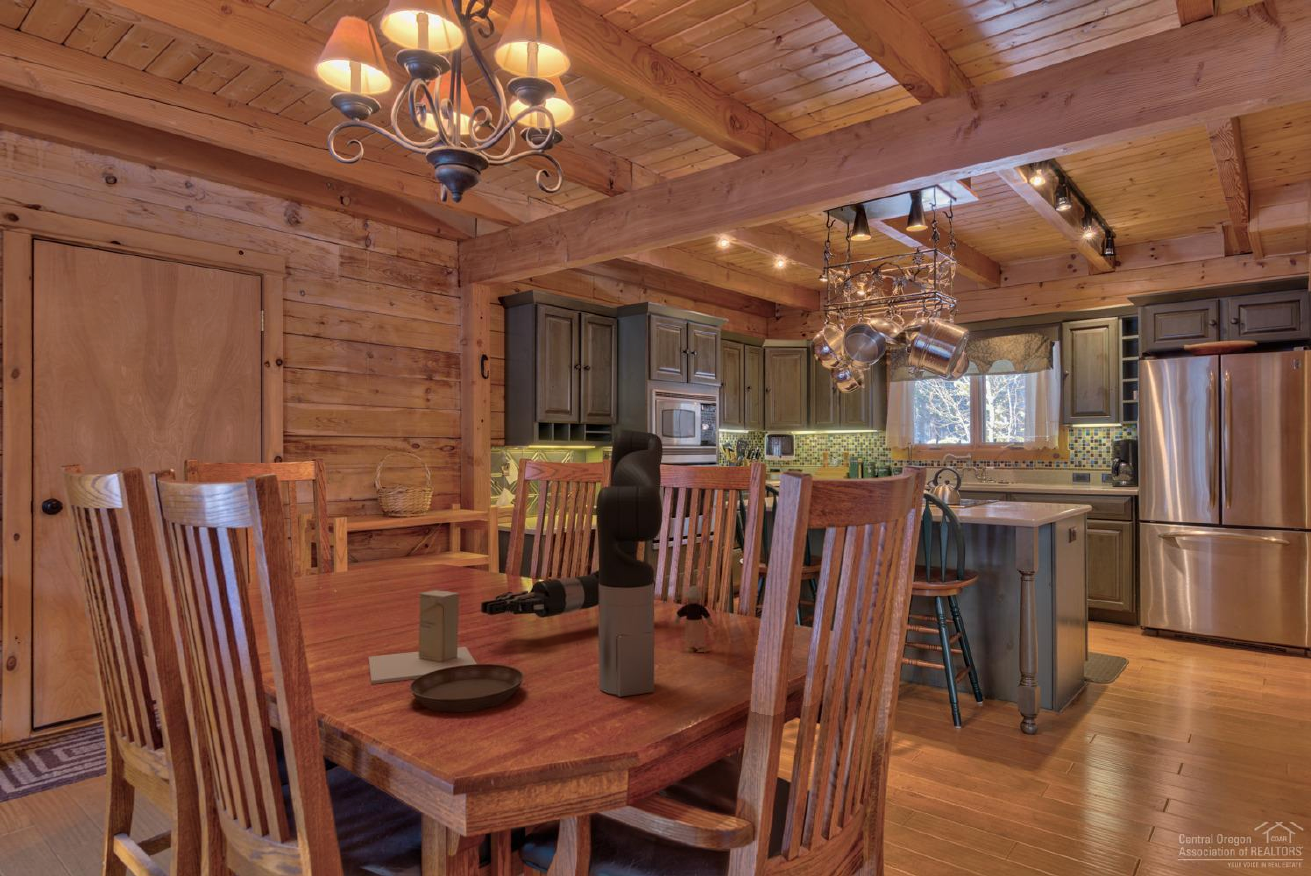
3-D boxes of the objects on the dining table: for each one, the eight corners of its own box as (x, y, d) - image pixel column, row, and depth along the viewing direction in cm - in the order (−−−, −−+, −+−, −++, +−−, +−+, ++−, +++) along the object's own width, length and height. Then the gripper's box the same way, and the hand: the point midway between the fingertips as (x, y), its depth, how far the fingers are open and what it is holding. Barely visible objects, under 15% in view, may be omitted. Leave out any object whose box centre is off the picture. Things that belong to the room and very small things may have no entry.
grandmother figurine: (713, 648, 148) (713, 584, 148) (713, 653, 144) (712, 587, 145) (675, 647, 149) (674, 583, 149) (673, 652, 145) (673, 587, 145)
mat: (479, 671, 134) (479, 667, 134) (371, 684, 127) (371, 680, 127) (465, 649, 148) (465, 646, 148) (368, 659, 141) (368, 656, 141)
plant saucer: (407, 723, 109) (407, 702, 109) (411, 686, 126) (411, 668, 126) (529, 710, 114) (529, 690, 114) (518, 677, 131) (517, 659, 131)
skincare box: (417, 658, 140) (417, 593, 140) (435, 652, 144) (435, 589, 144) (442, 662, 137) (442, 596, 137) (459, 656, 141) (459, 592, 141)
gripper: (539, 575, 164) (467, 585, 153) (576, 583, 154) (503, 594, 142) (539, 609, 164) (467, 622, 152) (577, 619, 154) (503, 633, 142)
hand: (485, 608), depth 147 cm, fingers closed
